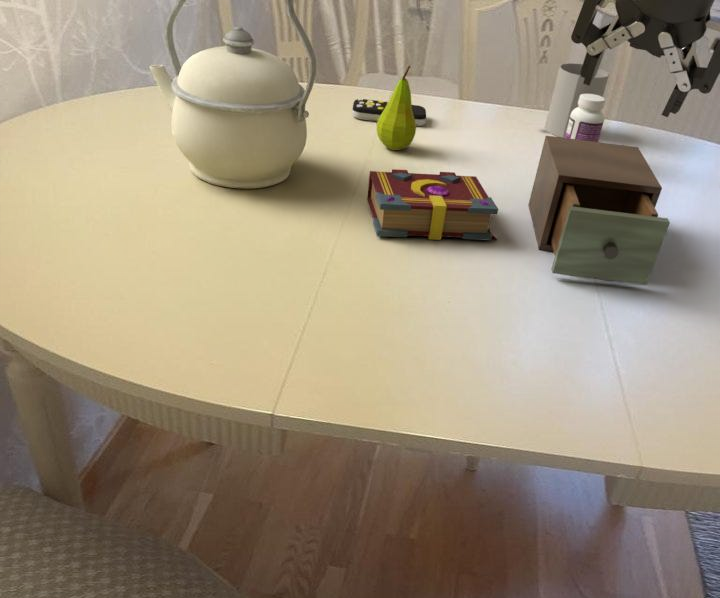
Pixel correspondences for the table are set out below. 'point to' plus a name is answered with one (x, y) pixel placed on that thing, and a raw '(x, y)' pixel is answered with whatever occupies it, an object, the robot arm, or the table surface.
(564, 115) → the cup
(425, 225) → the decorative book
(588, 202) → the drawer
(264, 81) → the kettle
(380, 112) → the remote control
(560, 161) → the cabinet
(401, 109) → the fruit
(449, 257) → the table surface
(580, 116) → the pill bottle
